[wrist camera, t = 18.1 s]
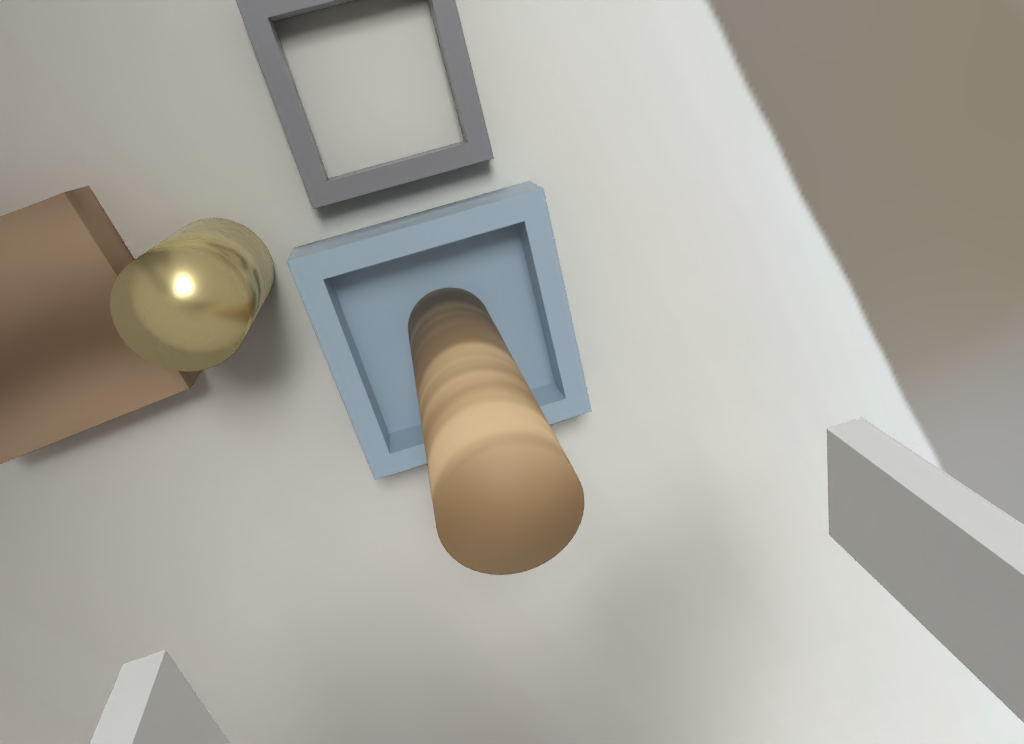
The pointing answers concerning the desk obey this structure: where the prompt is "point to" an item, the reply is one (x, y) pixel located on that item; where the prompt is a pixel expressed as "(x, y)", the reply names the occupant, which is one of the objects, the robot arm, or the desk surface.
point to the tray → (418, 271)
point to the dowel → (487, 442)
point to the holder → (259, 9)
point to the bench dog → (193, 295)
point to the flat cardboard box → (66, 327)
